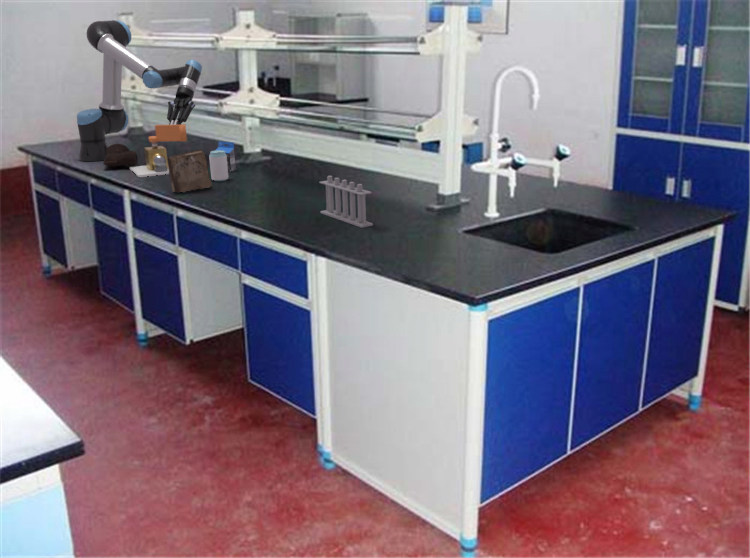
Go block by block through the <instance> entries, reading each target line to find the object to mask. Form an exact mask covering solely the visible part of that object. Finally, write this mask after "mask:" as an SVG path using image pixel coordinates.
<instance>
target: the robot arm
mask: <svg viewBox="0 0 750 558" xmlns="http://www.w3.org/2000/svg"><path fill="white" fill-rule="evenodd" d="M86 39H87V41H88V43H89V44H90V45H91V47H93V48H94V49H95V50H96V51H98V52H99V53H102V54H103V59H102V60H103V63H102V64H103V65H102V101H101V102H100V103H99V104H98V108H89V109H83V110H81V111H79V112H78V113H77V115H76V124H77V128H78V135H79V140H80V147H79V153H78V159H79V161H81V162H98V161H99V162H100V161H104V160H105V158H106V149H107V148H108V147H109V145H108V144H107V139H106V135H111V134H116V133H119V132H122V131H124V130H125V129H126V128H127V127H128V125H129V124H128V123H129V115H128V114H127V111H126V110H125V109H124V108H125V107H124V105H122V76H123V75H122V74H123V67H125V68H126V69H127V70H129V71H130V72H132V74H135V75H136V76H137V77H139V78H141V79H142V84H144V86H145V87H146V88H147V89H159V88H165V87H174V86H177V90H176V92H175V98H174V99H173V101H168V102H167V105H168V109H167V116H166V119H167V121H168V122H169V124H168V125H181V124H183V123H186V122H187V120H188V119H189V117H190V115H191V113H192V111H193V109H194V108H195V107H196V104H195V102H194V101H193V99H194V95H195V93H196V89H197V85H198V84H199V79H200V77H201V75H202V69H203V66H202V64H201V63H200V62H199V61H197V60H196V59H187V61H186V62H185V64H184V66H180V67H173V68H167V69H158V68H156V67H154V66H153V65H152V64H150V63H148V62H147V61H146V60H144V59H143V58H141V57H140V56H138V55H137V54H136V53H134V52H133V51H132V50H130V49H129V48H127V46H128V45H129V44H130V43H131V41H132V32H131V30H130V27H128V25H127V23H125V22H124V21H122V20H114V19H113V20H97V21H93V22H92V23H90V24H89V25H88V27H87V29H86Z"/></svg>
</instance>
